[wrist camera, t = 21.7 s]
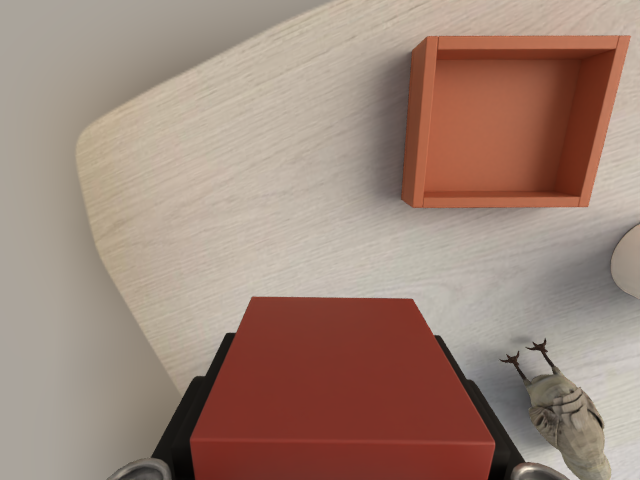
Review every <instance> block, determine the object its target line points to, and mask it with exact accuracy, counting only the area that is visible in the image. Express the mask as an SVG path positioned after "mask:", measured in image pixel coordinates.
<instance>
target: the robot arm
mask: <svg viewBox="0 0 640 480" xmlns="http://www.w3.org/2000/svg"><path fill="white" fill-rule="evenodd" d="M235 334H236V333H226V335H225V337H224V339H223V341H222V343H221V345H220V347H219V349H218V351H217V353H216V355H215V357H214V359H213V361H212V364H211V366H210V368H209V370H208V372H207V374H206V376H196V377H195V378H194V379H193V380H192V381H191V383H190V385H189V387H188V389H187V391H186V393H185V394H184V396H183V398H182V400H181V402H180V404H179V406H178V408H177V410H176V412H175V413H174V415H173V417H172V419H171V421H170V423H169V424H168V426H167V428H166V430H165V432H164V434H163V436H162V438H161V440H160V441H159V443H158V445H157V447H156V449H155V451H154V453H153V454H152V456H151V458H144V459H139V460H136V461H133V462H130V463H128V464H127V465H125V466H123V467H122V468H120V469H118V470H117V471H116V472H115V473H114V474H112V475H111V476H110V477H109V478H107V480H195V475H194V468H193V461H192V454H191V447H190V437H191V435H192V433H193V431H194V428H195V426H196V424H197V421H198V419H199V417H200V414H201V412H202V410H203V408H204V405H205V403H206V401H207V398H208V396H209V394H210V392H211V389H212V387H213V385H214V382H215V380H216V378H217V376H218V373H219V371H220V369H221V366H222V364H223V362H224V360H225V357H226V355H227V353H228V350H229V348H230V346H231V344H232V341H233V339H234V337H235ZM434 337H435V338H436V340H437V342H438V344H439V345H440V347H441V349H442V351H443V352H444V354H445V356H446V358H447V359H448V361H449V363H450V365H451V366H452V368H453V370H454V371H455V373H456V375H457V377H458V378H459V380H460V382H461V384H462V385H463V387H464V389H465V391H466V392H467V394H468V396H469V397H470V399H471V401H472V403H473V404H474V406H475V408H476V410H477V411H478V413H479V415H480V417H481V418H482V420H483V422H484V424H485V425H486V427H487V429H488V430H489V432H490V434H491V436H492V437H493V439H494V441H495V450H494V454H493V458H492V463H491V467H490V471H489V476H488V480H569V479H568V478H567V477H566V476H564V475H563V474H561V473H559V472H558V471H556V470H554V469H552V468H550V467H548V466H545V465H542V464H539V463H531V462H525V461H524V459H523V457H522V456H521V454H520V453H519V451H518V449H517V448H516V446H515V445H514V443H513V442H512V440H511V438H510V437H509V435H508V434H507V432H506V431H505V429H504V427H503V426H502V424H501V423H500V421H499V419H498V418H497V416H496V415H495V413H494V412H493V410H492V408H491V407H490V405H489V404H488V402H487V400H486V399H485V397H484V396H483V394H482V393H481V391H480V389H479V388H478V386H477V385H476V384H475V382H474V381H472V380H467V379H466V377H465V376H464V374H463V372H462V371H461V369H460V367H459V366H458V364H457V362H456V361H455V359H454V357H453V356H452V354H451V352H450V351H449V349H448V348H447V346H446V344H445V343H444V341H443V339H442V338H441V337H440V336H439V335H434Z"/></svg>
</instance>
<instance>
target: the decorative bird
mask: <svg viewBox="0 0 640 480" xmlns="http://www.w3.org/2000/svg"><path fill="white" fill-rule="evenodd" d="M533 344H534V346H535V347H533V348H527V347H526V348H527V349H530V350H539V351H541V352H542V354H543V356H544V357H545V359H546V361H547V362H548V363H549V365H550V366H551V367H552V371H553V375H539V376H537V377H535V378H533V380H532V381H531V382H530V381H529V380H528V379H527V378H526V377H525V375H524V374H523V373H522V371H521V370H520V369H519V367H518V365H519V363H518V362H517V358H518V357H519V351H518V353H517V355H516V356H514V357H510V356H509V355H507V354H506V355H507V357H508V358H509V359H508V360H501V359H499V360H501V361H502V362H505V363H513V364H514V366H515V368H516V369H517V371H518V373H519V374H520V376H521V377H522V379H523V382H524V384H525V386H526V388H527V391H528V393H529V396H530V398H531V405H532V407H531V408H529V415H530V418H531V421H532V423H533V424H534V426H535V427H536V429H537V430H538V431H539V432H540V434H541V435H542V436H543V437H544V438H545V439H546V440H547V441H548V442H549V443H550V444H551V445H552V446H553V447H555V448H556V449H558V450H559V451H560V452H561V454H562V457H563V459H564V462H565V464H566V465H567V467H568V468H569V469H570V470H571V471H572V472H573V473H574V474H575V475H576V476H577V477H578V478H579V479H580V480H609V479H610V477H611V468H610V465H609V462H608V459H607V458H606V456H605V455H604V452H603V450H604V441H605V440H604V433H603V428H604V422H603V420H602V418H601V416H600V414H599V413H598V411H597V409H596V407H595V406H594V404H593V402H592V401H591V399H590V398H589V397H588V395H587V394H586V393H585V392H584V391H583V390H582V389H581V387H579V388H577V387H576V385H575V384H574V383H572V382H571V381H570V380H568V379H567V378H566V377H565V376H564V375H563V374H562V373H561V371H560V370H559V369H558V368H557V367H556V366H554V364H553V363H552V362H551V360H550V359H549V358H548V357H547V355H546V353H545V352H548V351H547V350H546V349H545V347H544V346H545V345H546V339H545V340H544V343H542V344H539V345H537V344H535V343H534V342H533Z"/></svg>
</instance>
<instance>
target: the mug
mask: <svg viewBox="0 0 640 480" xmlns="http://www.w3.org/2000/svg"><path fill="white" fill-rule="evenodd" d="M611 274H612V277H613V279H614V281H615V283H616V284H617V286H618V287H619V288H620V289H621V290H623V291H624V292H626V293H628V294H630V295H632V296H634V297H636V298H638V299H640V224H639V225H637V226H635V227H634V228H633V229H631V230H630V231H629V232H628V233H627V234H626V235H625V236H624V237H623V238H622V239H621V240H620V242H619V243H618V245H617V246H616V248H615V250H614V253H613V255H612V259H611Z"/></svg>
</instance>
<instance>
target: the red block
mask: <svg viewBox="0 0 640 480" xmlns="http://www.w3.org/2000/svg"><path fill="white" fill-rule="evenodd" d="M190 447H191V454H192V461H193V468H194V475H195V480H488V476H489V471H490V467H491V463H492V458H493V454H494V450H495V441H494V439H493V437H492V436H491V434H490V432H489V430H488V429H487V427H486V425H485V424H484V422H483V420H482V418H481V417H480V415H479V413H478V411H477V410H476V408H475V406H474V404H473V403H472V401H471V399H470V397H469V396H468V394H467V392H466V391H465V389H464V387H463V385H462V384H461V382H460V380H459V378H458V377H457V375H456V373H455V371H454V370H453V368H452V366H451V365H450V363H449V361H448V359H447V358H446V356H445V354H444V352H443V351H442V349H441V347H440V345H439V344H438V342H437V340H436V338H435V337H434V335H433V333H432V332H431V330H430V328H429V326H428V325H427V323H426V321H425V319H424V318H423V316H422V314H421V312H420V311H419V309H418V307H417V306H416V304H415V302H414V300H413V299H402V298H321V297H252V298H251V300H250V302H249V305H248V307H247V309H246V312H245V314H244V316H243V318H242V321H241V323H240V325H239V328H238V330H237V332H236V334H235V337H234V339H233V341H232V344H231V346H230V348H229V350H228V353H227V355H226V357H225V360H224V362H223V364H222V366H221V369H220V371H219V373H218V376H217V378H216V380H215V382H214V385H213V387H212V389H211V392H210V394H209V396H208V398H207V401H206V403H205V405H204V408H203V410H202V412H201V414H200V417H199V419H198V421H197V424H196V426H195V428H194V431H193V433H192V435H191V437H190Z"/></svg>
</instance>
